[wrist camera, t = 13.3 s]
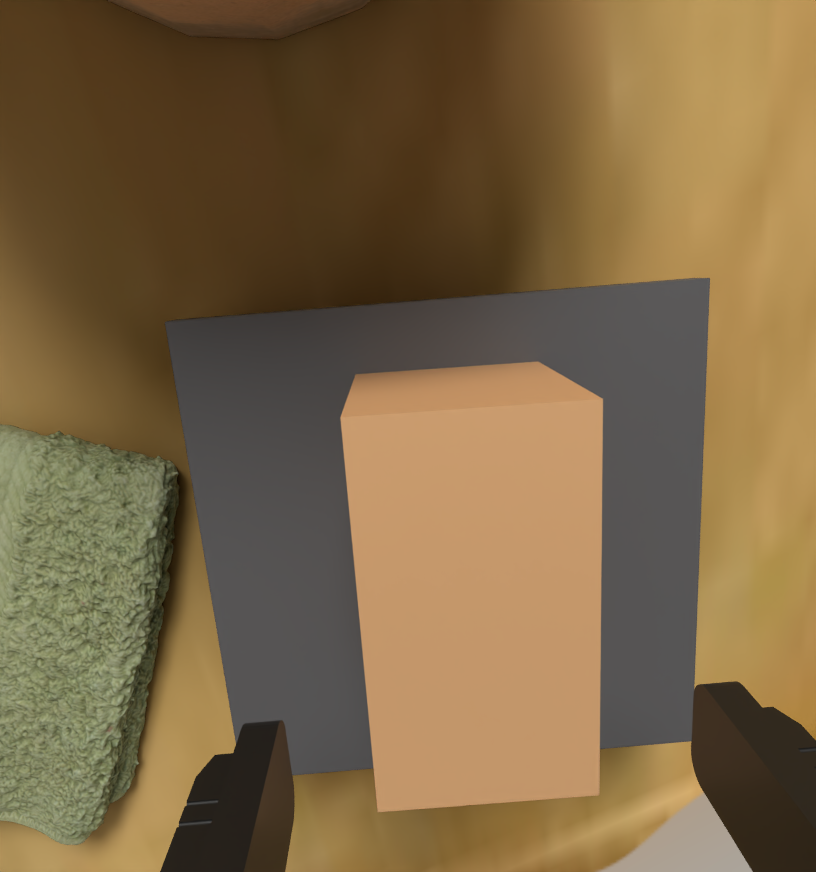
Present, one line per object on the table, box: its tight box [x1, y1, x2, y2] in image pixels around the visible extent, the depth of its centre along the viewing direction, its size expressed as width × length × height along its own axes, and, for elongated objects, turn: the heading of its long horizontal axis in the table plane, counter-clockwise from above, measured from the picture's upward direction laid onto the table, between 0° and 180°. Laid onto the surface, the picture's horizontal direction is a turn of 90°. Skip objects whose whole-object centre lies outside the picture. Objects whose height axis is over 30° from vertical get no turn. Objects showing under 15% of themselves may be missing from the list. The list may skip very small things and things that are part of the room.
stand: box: [165, 278, 710, 775], centre depth 23 cm, size 16×16×5 cm
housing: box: [340, 362, 603, 812], centre depth 18 cm, size 11×6×6 cm, turn 4°
